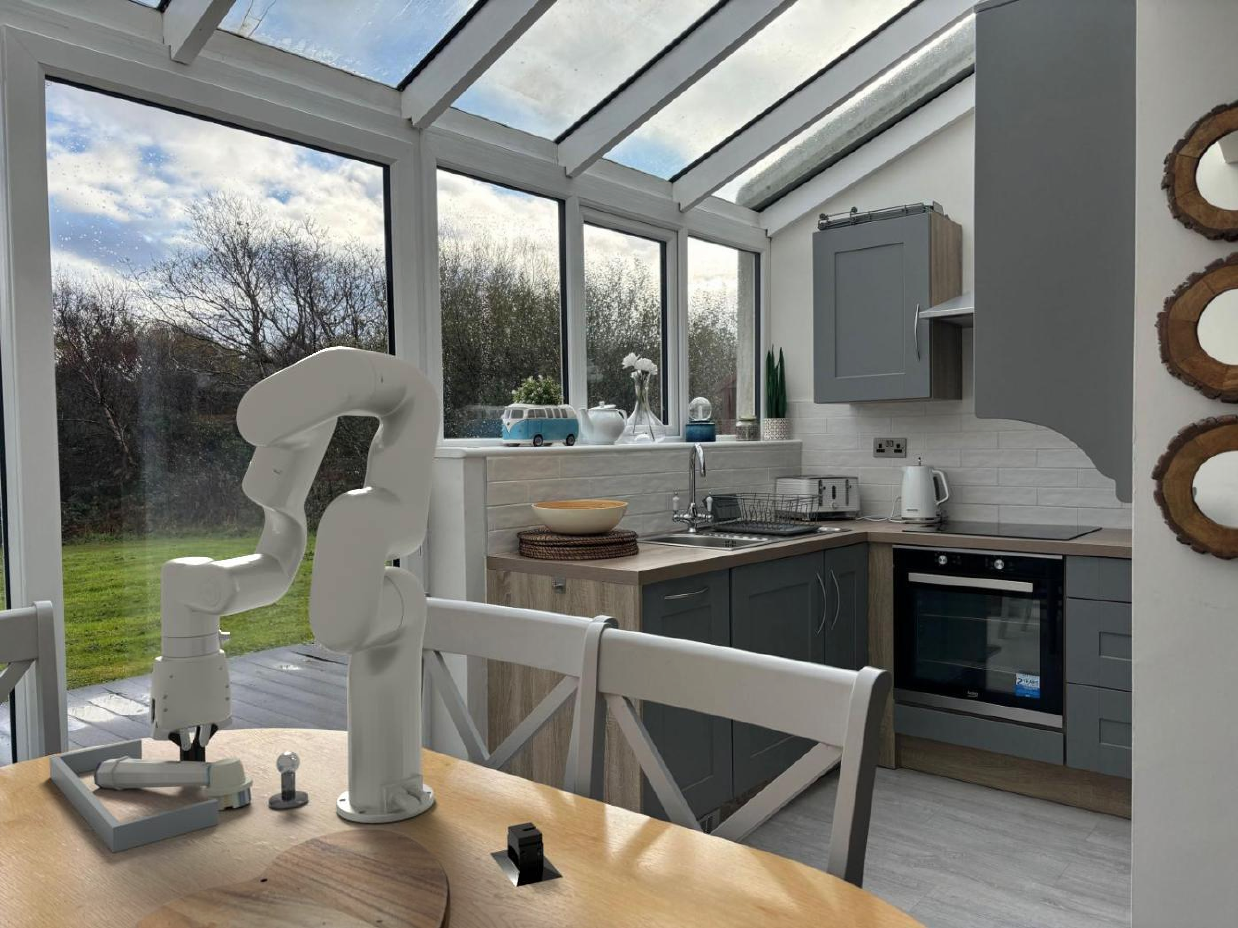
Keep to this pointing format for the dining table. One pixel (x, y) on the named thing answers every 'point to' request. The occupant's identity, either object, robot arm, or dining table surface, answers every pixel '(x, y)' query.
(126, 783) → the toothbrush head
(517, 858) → the black slotted block
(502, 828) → the dining table surface
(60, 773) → the bay
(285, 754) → the ball stud
